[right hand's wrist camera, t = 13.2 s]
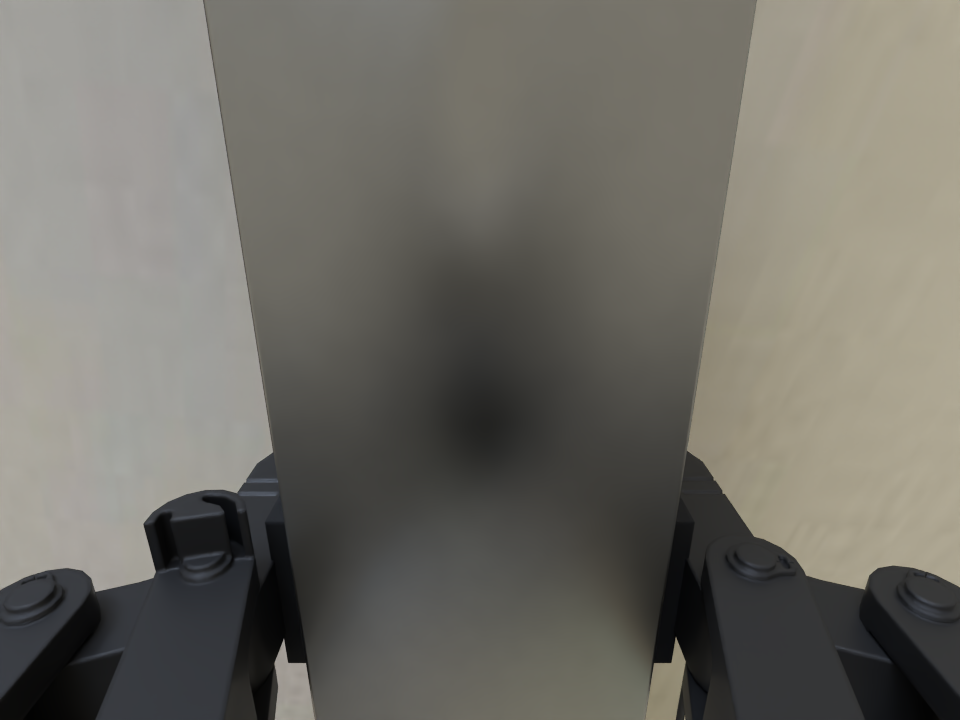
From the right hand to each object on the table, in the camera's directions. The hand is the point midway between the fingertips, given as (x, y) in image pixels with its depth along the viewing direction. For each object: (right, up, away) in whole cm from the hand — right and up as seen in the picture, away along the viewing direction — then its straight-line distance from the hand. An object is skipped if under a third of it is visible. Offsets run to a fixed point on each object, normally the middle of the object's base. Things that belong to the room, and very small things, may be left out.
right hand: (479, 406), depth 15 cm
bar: (0, +8, -2) cm, 9 cm away
